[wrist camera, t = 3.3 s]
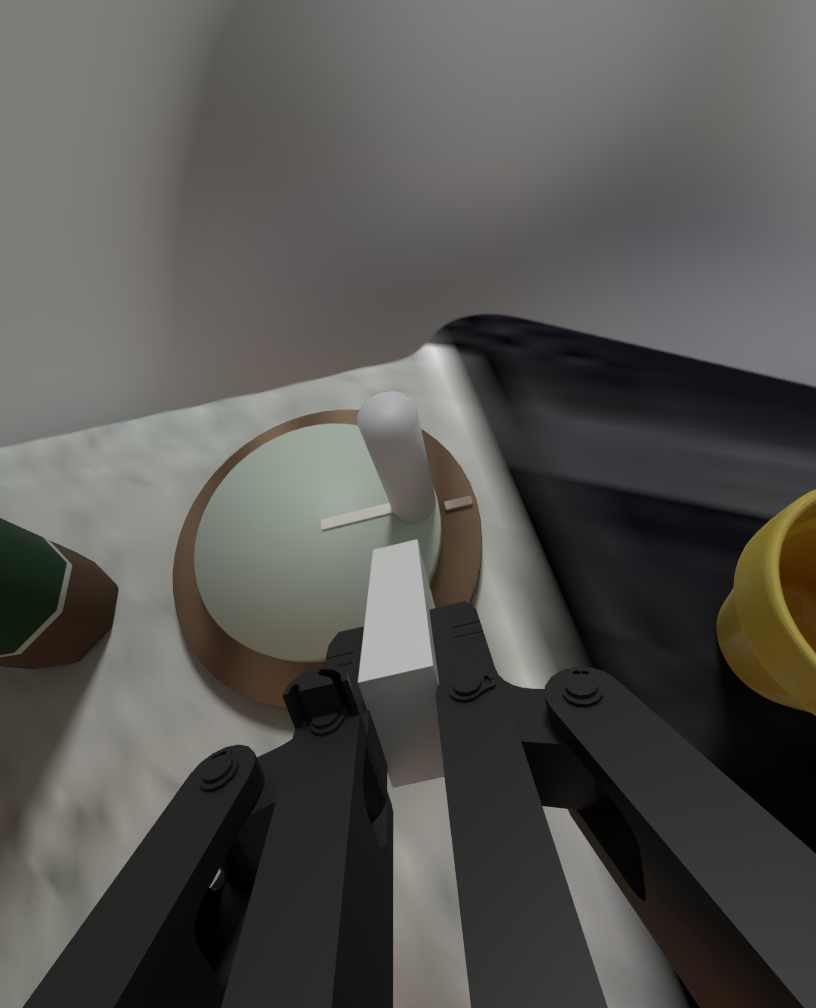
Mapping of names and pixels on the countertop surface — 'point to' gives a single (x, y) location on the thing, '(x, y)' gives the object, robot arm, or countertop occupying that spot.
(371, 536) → the capstan dial
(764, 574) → the plant pot
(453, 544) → the walnut base
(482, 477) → the countertop surface
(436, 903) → the countertop surface
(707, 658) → the countertop surface
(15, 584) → the beer bottle
